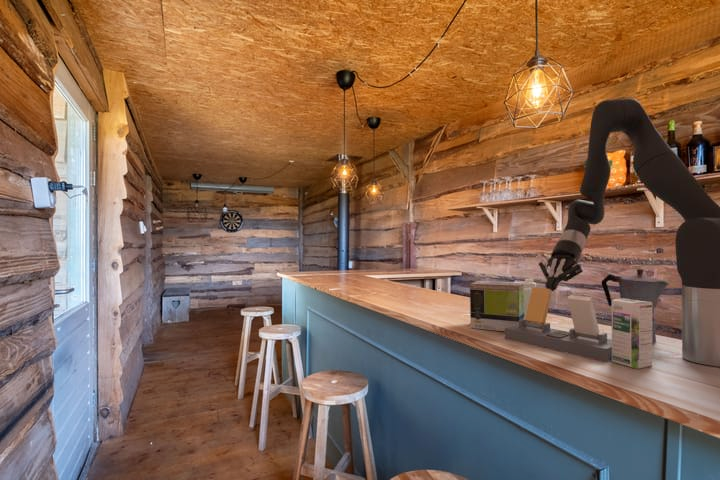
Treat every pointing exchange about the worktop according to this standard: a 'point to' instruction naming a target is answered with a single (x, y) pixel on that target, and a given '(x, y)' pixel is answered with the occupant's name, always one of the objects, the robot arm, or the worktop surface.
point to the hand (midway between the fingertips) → (549, 289)
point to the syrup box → (632, 333)
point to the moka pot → (637, 290)
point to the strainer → (527, 293)
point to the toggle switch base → (562, 341)
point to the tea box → (496, 304)
